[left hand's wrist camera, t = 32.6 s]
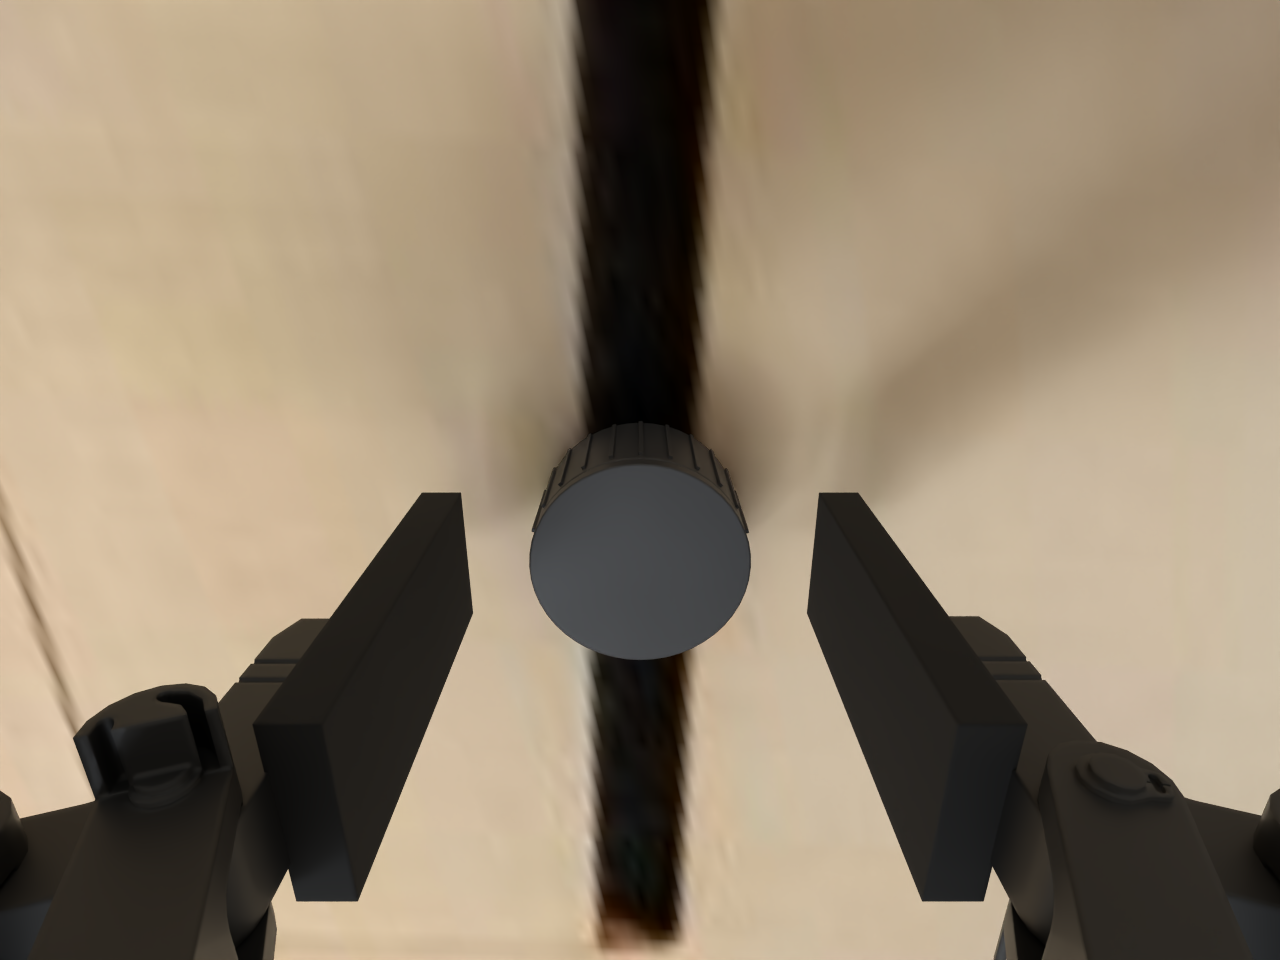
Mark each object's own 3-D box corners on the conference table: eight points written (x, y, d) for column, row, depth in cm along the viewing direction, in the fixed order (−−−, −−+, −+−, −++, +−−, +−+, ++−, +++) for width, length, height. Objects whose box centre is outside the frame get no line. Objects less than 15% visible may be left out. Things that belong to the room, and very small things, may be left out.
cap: (536, 583, 17) (518, 649, 14) (552, 406, 15) (536, 446, 13) (717, 605, 17) (731, 673, 15) (753, 433, 15) (774, 477, 13)
